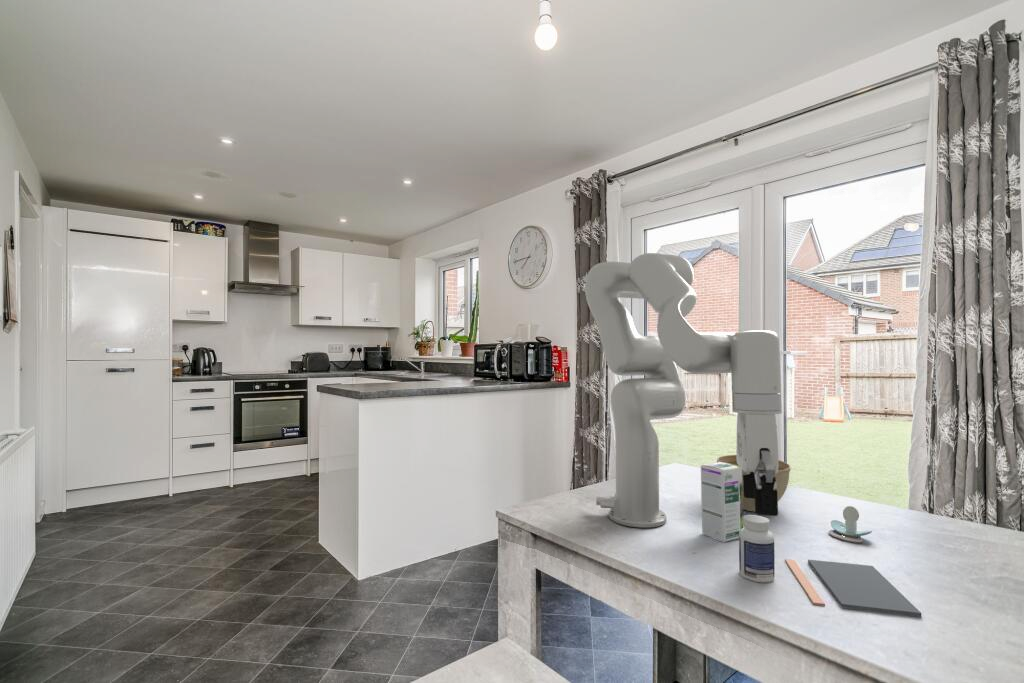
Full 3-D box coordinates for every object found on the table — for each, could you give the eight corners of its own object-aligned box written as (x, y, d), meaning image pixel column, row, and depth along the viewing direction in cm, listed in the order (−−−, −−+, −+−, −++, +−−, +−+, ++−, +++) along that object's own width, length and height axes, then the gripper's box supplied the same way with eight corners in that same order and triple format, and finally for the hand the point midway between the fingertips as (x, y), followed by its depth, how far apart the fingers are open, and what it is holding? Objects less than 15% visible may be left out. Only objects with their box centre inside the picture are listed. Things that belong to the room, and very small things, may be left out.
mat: (841, 607, 74) (841, 603, 74) (808, 562, 89) (808, 559, 89) (921, 617, 71) (921, 613, 71) (872, 569, 87) (872, 565, 87)
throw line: (813, 604, 75) (813, 602, 75) (785, 560, 90) (785, 558, 90) (824, 605, 74) (824, 603, 74) (794, 561, 90) (794, 559, 90)
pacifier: (857, 547, 97) (876, 541, 99) (856, 515, 97) (875, 510, 99) (820, 534, 104) (839, 529, 106) (819, 504, 104) (838, 500, 106)
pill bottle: (782, 582, 82) (781, 522, 82) (753, 585, 81) (753, 525, 81) (759, 567, 87) (759, 512, 88) (732, 570, 86) (732, 514, 86)
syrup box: (724, 543, 98) (724, 469, 99) (700, 533, 104) (700, 463, 104) (743, 538, 101) (743, 466, 101) (719, 528, 106) (719, 460, 106)
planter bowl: (717, 512, 117) (716, 466, 117) (717, 494, 132) (717, 452, 132) (795, 521, 110) (795, 472, 111) (786, 501, 125) (786, 457, 125)
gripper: (724, 399, 94) (727, 491, 93) (741, 408, 77) (745, 520, 76) (768, 399, 92) (771, 493, 91) (795, 408, 75) (800, 523, 74)
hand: (759, 505), depth 84 cm, fingers open, 9 cm apart
